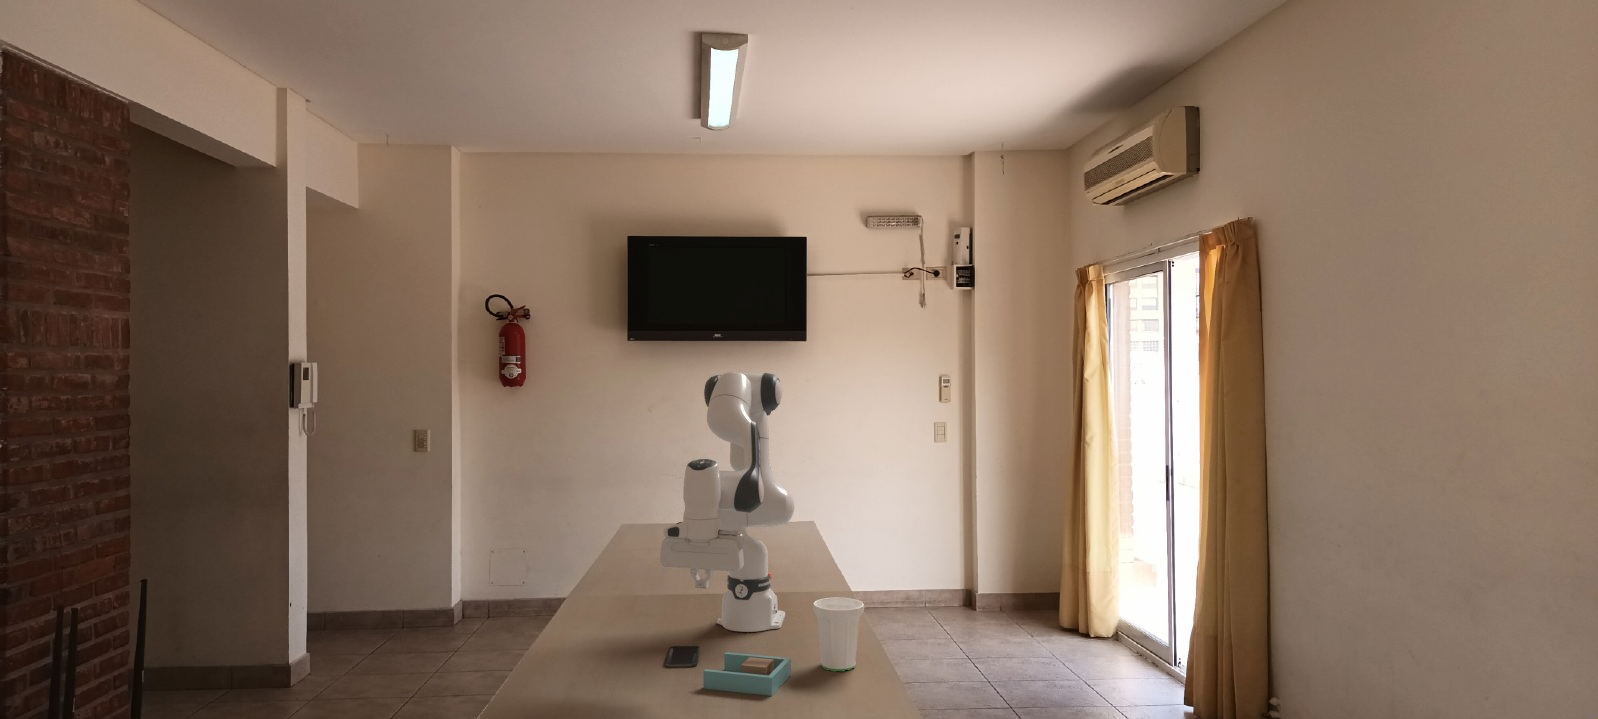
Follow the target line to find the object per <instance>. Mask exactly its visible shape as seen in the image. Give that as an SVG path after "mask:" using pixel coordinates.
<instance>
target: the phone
mask: <svg viewBox="0 0 1598 719" xmlns="http://www.w3.org/2000/svg"><path fill="white" fill-rule="evenodd" d="M700 650H701V647H700V645H699V646H698V645H674V646H673V645H672V646H670V647H669V649H668V652H667V655H666V658H665V662H664V667H665V668H668V669H673V668H675V669H677V668H679V669H680V668H682V669H684V668H687V669H688V668H689V669H690V668H696V667H697V665H698V663H699V658H700Z"/></svg>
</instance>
